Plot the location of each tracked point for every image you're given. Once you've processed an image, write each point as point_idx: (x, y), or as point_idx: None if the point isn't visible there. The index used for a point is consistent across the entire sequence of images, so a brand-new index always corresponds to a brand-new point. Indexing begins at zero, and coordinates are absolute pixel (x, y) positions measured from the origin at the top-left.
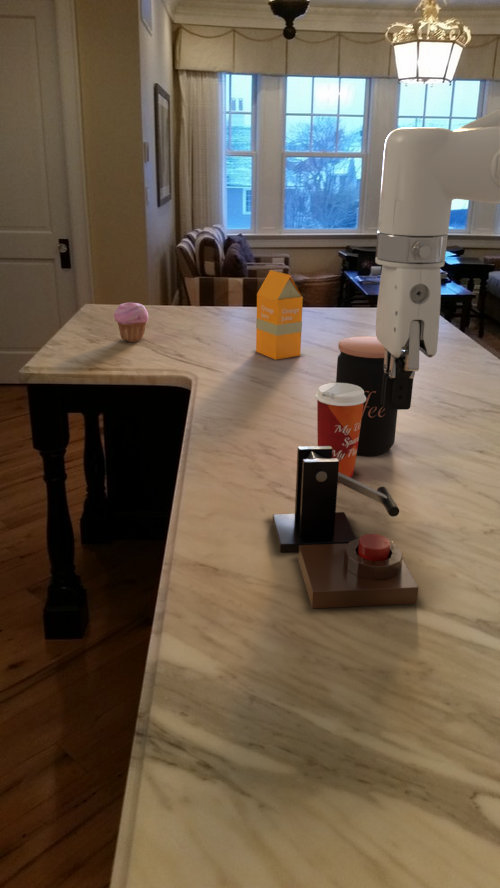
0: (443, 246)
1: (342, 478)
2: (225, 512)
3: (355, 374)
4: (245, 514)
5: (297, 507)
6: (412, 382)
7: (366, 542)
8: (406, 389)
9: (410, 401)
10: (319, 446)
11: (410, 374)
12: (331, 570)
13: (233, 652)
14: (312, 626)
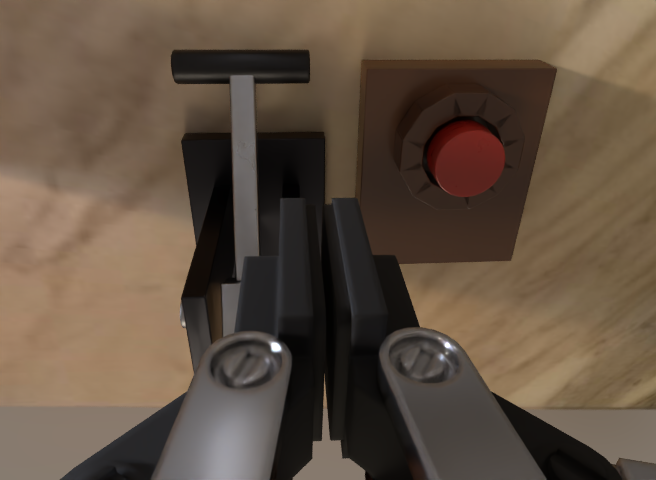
0: None
1: (258, 232)
2: (170, 346)
3: None
4: (175, 317)
5: (233, 267)
6: (378, 290)
7: (470, 183)
8: (410, 308)
9: (360, 216)
10: (189, 327)
11: (496, 398)
12: (454, 222)
13: (559, 341)
14: (541, 247)
